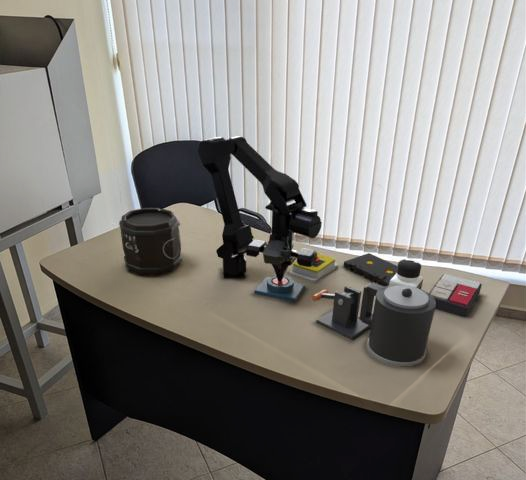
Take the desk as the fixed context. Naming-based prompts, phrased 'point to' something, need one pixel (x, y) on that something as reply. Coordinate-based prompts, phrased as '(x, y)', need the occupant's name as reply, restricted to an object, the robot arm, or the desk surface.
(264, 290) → the blue button base
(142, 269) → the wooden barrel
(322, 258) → the emergency button
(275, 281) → the power button
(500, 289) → the desk surface
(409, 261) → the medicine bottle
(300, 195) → the robot arm
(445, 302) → the grey red panel box
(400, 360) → the kettle
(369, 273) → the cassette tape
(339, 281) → the desk surface
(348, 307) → the switch base
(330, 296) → the switch lever
